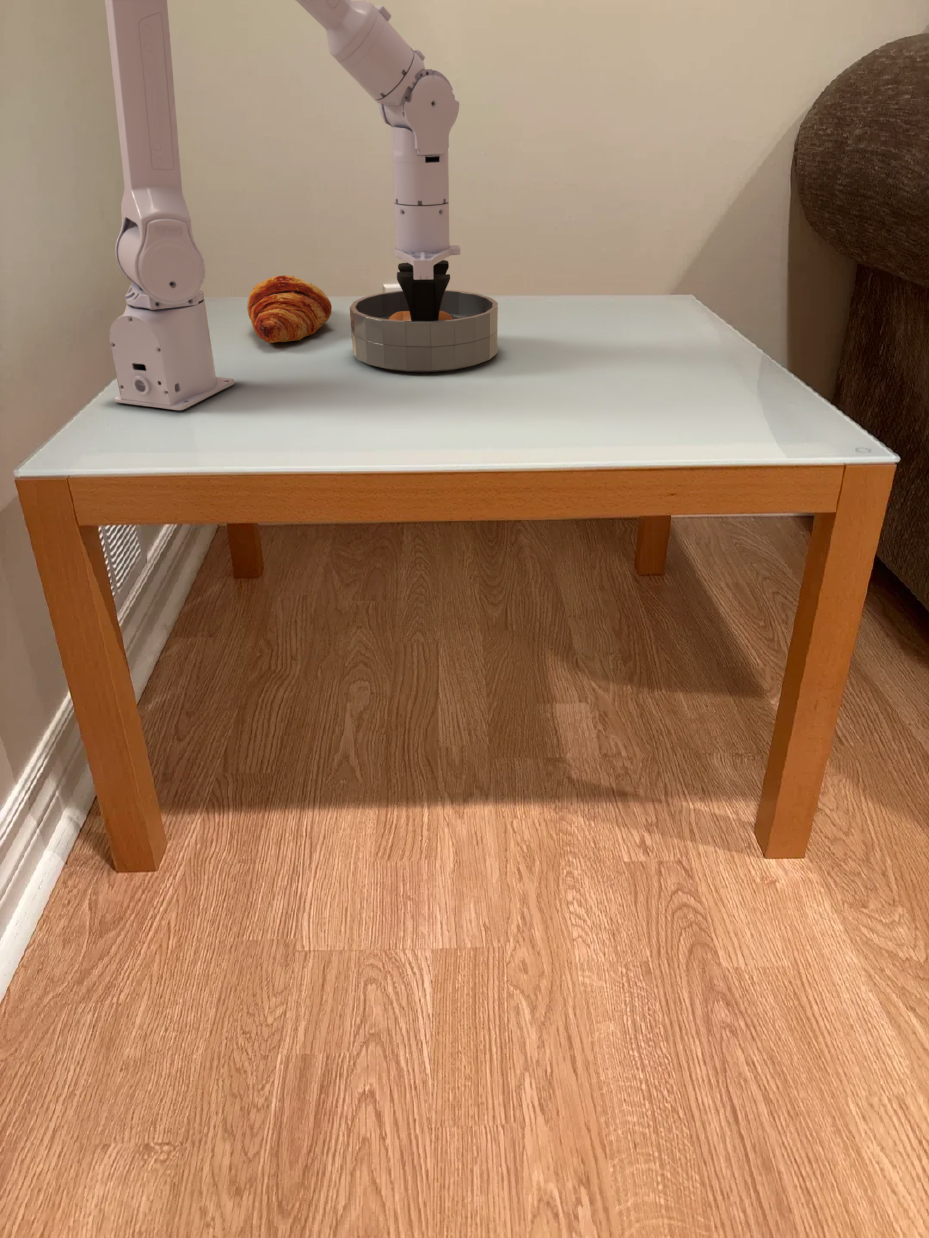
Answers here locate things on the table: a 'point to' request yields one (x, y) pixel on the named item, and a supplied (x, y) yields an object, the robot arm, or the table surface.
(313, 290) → the croissant
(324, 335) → the table surface
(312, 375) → the table surface
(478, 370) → the table surface
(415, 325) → the bowl
